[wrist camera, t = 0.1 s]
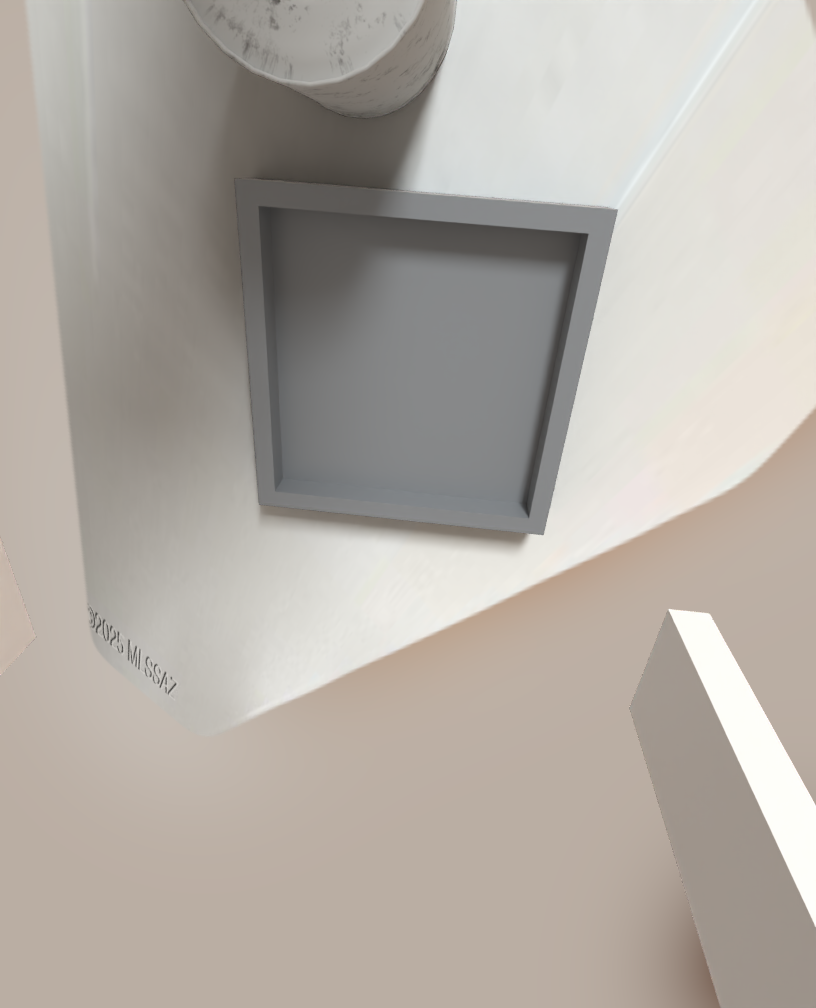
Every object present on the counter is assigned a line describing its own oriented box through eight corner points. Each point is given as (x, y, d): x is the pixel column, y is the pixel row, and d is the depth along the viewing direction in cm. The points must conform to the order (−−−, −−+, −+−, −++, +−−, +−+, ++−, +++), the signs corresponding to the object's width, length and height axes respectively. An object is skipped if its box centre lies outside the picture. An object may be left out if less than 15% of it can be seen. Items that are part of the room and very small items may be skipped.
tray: (253, 178, 32) (234, 178, 30) (605, 206, 31) (617, 209, 29) (271, 484, 42) (258, 504, 40) (538, 512, 42) (543, 535, 39)
